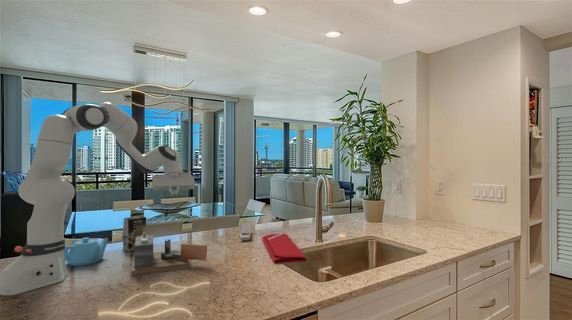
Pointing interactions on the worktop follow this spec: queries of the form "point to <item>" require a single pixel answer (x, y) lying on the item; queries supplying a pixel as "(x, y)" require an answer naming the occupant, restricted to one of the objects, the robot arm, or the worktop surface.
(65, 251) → the teapot
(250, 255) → the worktop surface
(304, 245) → the worktop surface
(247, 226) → the mobile phone
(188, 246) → the wooden lever
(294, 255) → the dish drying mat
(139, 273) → the stand
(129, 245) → the coffee box
